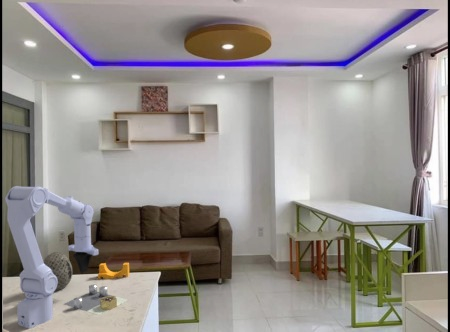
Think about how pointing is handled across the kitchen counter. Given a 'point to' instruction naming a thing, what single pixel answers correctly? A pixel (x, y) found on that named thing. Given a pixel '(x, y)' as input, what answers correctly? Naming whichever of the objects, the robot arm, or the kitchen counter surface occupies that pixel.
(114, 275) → the pipe clamp
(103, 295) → the cylinder
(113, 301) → the brass nut
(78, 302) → the cylinder
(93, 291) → the cylinder
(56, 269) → the decorative egg
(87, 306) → the board
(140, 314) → the kitchen counter surface
